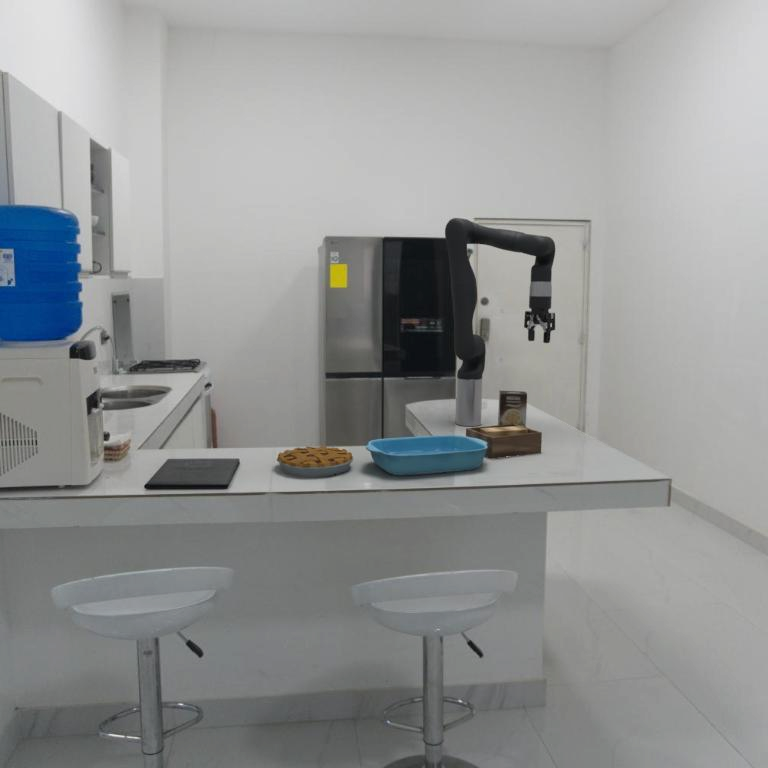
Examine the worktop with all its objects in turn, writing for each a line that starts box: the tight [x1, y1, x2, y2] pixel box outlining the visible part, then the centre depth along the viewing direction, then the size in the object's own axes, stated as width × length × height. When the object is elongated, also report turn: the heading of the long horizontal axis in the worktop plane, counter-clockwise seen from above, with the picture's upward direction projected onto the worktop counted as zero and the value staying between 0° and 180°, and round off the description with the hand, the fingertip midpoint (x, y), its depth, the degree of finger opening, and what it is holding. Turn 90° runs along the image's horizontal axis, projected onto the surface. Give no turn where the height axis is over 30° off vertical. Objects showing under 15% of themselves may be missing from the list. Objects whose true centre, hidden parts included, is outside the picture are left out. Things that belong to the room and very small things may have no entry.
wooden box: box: [465, 424, 543, 459], centre depth 235 cm, size 15×18×6 cm
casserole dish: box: [365, 434, 488, 476], centre depth 216 cm, size 37×22×7 cm, turn 110°
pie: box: [276, 445, 354, 478], centre depth 213 cm, size 22×22×5 cm
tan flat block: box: [480, 426, 528, 437], centre depth 234 cm, size 14×6×3 cm, turn 106°
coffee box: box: [497, 390, 528, 428], centre depth 251 cm, size 9×6×16 cm
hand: (538, 341), depth 258 cm, fingers open, 8 cm apart
